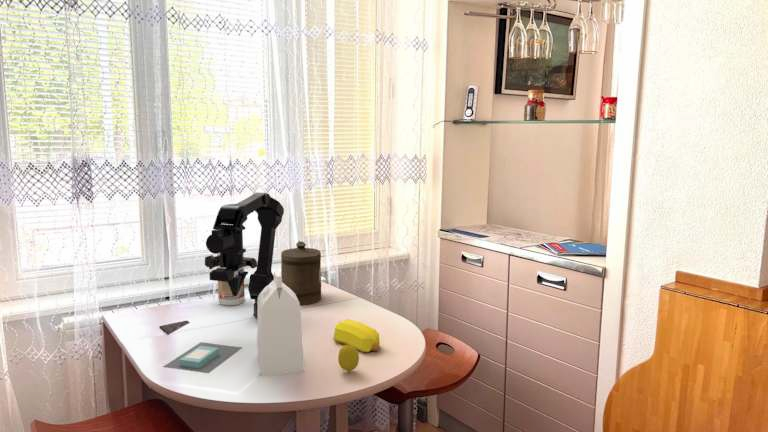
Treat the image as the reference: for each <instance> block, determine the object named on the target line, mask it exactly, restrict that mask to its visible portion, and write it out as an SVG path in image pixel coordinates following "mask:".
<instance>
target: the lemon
mask: <svg viewBox="0 0 768 432" xmlns="http://www.w3.org/2000/svg"><path fill="white" fill-rule="evenodd" d="M359 356H360V355H359V350H358V349H356V348H355V347H354V346H353V345H350V344H347V345H346V344H344V345H343V346H341V348H340V350H339V352H338V356H337V357H338V359H337V360H338V365H339V366H340V368H341V369H342V370H344V371H346V372H347V373H350V372H351V371H354V370H355V369H356V368H357V366H358V365H359V361H360V359H359V358H360V357H359Z"/></svg>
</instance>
